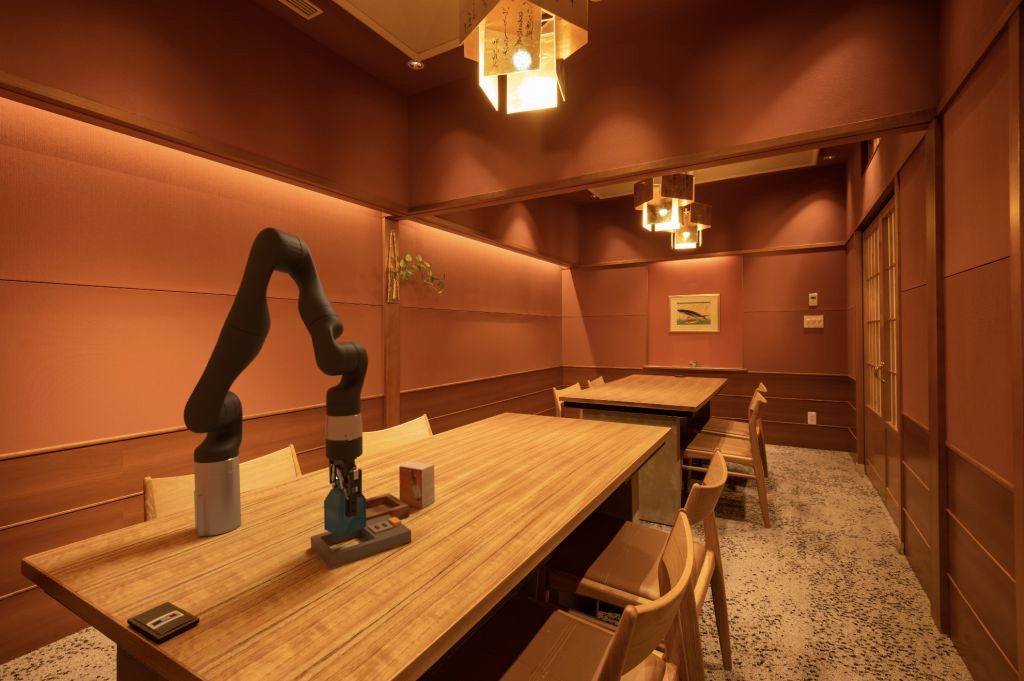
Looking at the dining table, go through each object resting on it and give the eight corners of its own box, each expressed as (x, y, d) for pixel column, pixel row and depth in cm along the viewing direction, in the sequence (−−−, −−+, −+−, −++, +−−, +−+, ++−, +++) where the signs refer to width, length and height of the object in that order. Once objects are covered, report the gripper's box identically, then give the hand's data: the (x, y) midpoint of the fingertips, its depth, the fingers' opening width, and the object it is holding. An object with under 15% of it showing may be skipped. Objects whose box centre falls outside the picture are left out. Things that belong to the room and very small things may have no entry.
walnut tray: (362, 530, 109) (362, 518, 109) (345, 515, 118) (344, 504, 118) (409, 516, 117) (408, 505, 116) (389, 503, 126) (388, 493, 126)
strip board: (328, 569, 91) (328, 552, 91) (311, 547, 101) (310, 532, 100) (411, 541, 103) (410, 526, 103) (388, 524, 112) (388, 511, 112)
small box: (399, 504, 125) (398, 465, 125) (412, 497, 130) (411, 460, 130) (422, 509, 121) (421, 469, 121) (435, 501, 126) (434, 463, 126)
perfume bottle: (340, 537, 95) (339, 479, 95) (324, 529, 99) (323, 474, 99) (366, 526, 100) (365, 472, 100) (349, 519, 104) (349, 467, 104)
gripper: (316, 431, 102) (317, 505, 103) (337, 443, 91) (338, 526, 91) (349, 426, 107) (350, 497, 107) (374, 437, 96) (375, 516, 96)
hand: (345, 510), depth 99 cm, fingers closed on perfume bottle, 7 cm apart
